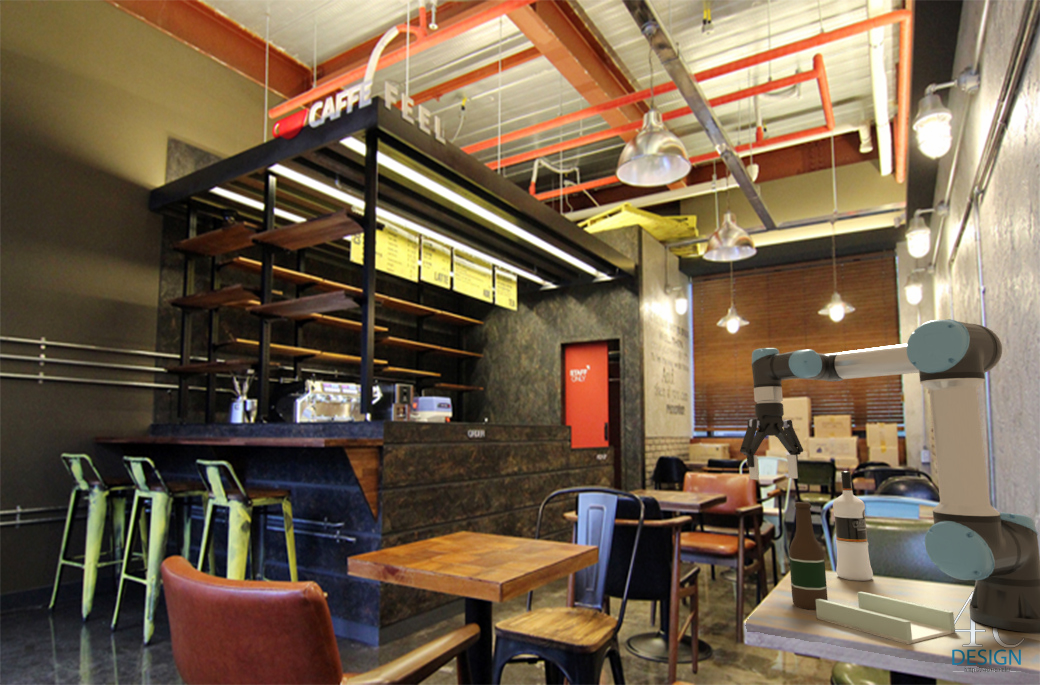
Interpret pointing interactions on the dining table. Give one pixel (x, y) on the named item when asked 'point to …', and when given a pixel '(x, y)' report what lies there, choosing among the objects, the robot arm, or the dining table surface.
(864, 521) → the vodka
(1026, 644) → the dining table surface
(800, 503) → the beer bottle
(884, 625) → the rest
